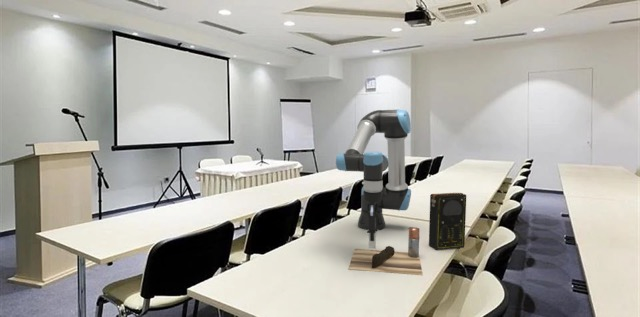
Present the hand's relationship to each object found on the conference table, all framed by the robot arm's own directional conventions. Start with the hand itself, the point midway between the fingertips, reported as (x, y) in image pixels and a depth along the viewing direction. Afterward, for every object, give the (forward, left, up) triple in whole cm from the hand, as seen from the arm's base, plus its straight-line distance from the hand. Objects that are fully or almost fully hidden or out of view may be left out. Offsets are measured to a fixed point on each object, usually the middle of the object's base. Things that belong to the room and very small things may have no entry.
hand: (372, 247), depth 149 cm
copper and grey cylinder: (-11, +17, -6) cm, 21 cm away
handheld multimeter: (-27, +32, -7) cm, 43 cm away
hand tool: (-1, +4, -6) cm, 8 cm away
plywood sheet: (-3, +5, -6) cm, 9 cm away
